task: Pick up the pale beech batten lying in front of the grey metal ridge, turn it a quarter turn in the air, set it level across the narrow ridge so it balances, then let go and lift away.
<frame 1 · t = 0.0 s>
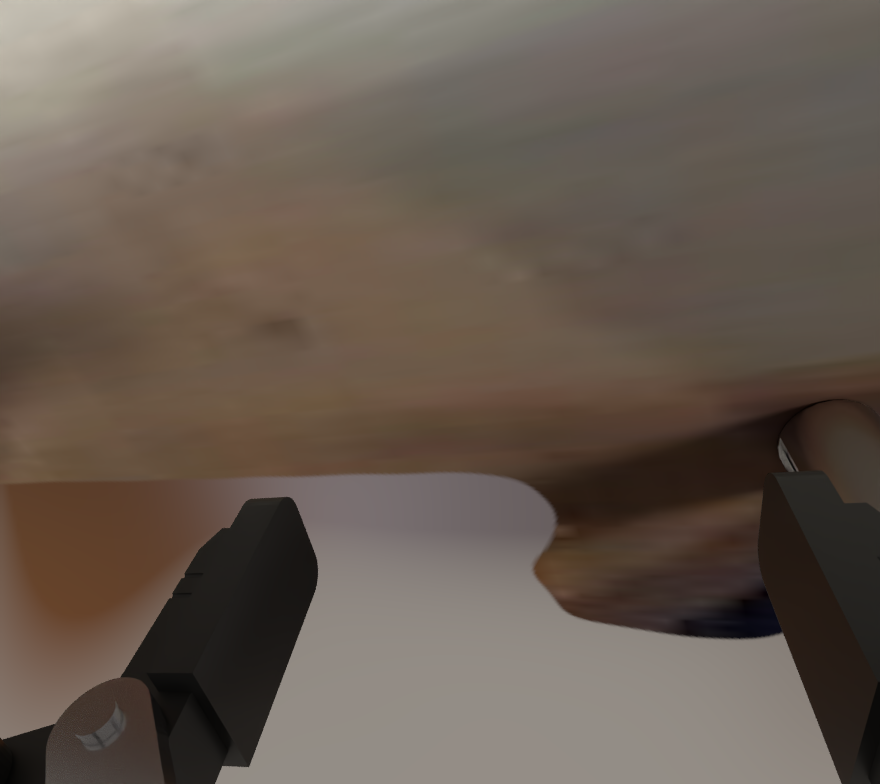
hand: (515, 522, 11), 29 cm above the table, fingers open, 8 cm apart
air filter: (827, 437, 43), on the table
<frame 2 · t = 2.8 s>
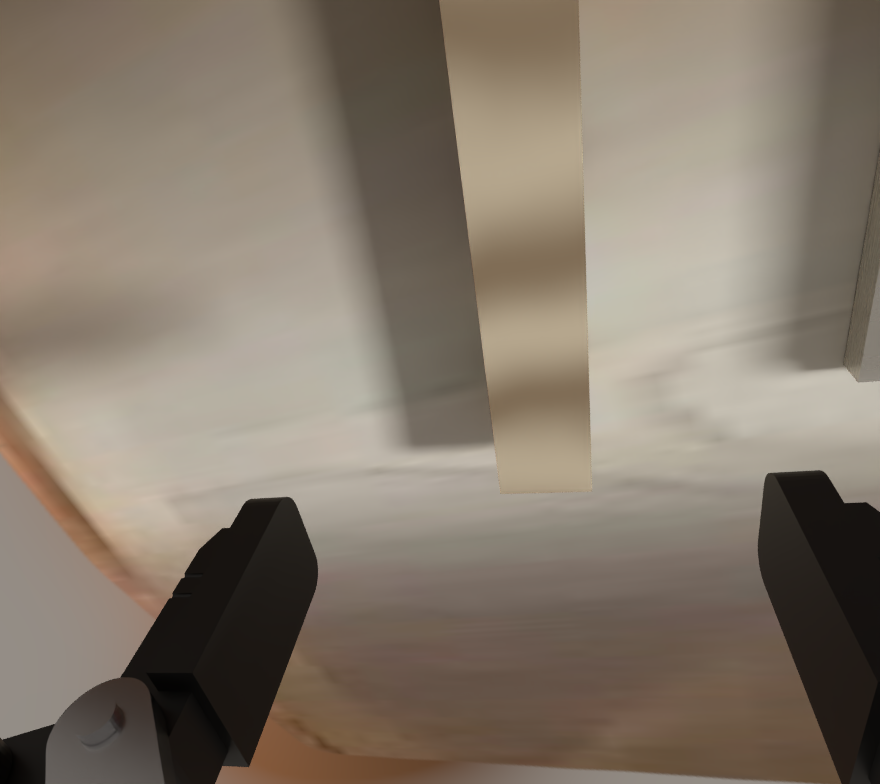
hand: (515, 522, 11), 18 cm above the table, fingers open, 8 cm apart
beech batten: (528, 213, 26), on the table
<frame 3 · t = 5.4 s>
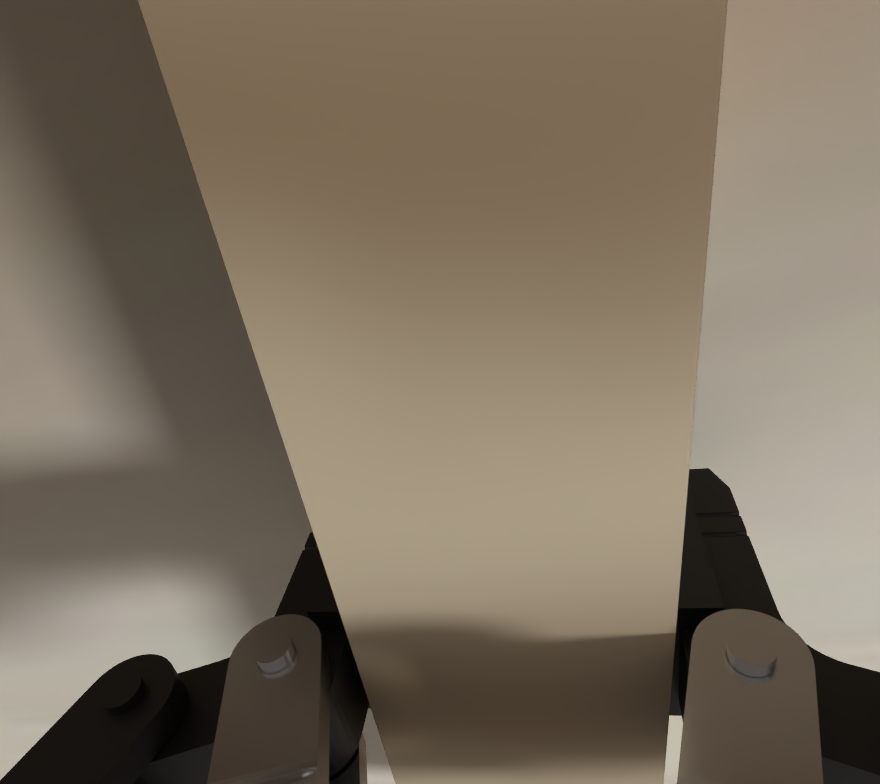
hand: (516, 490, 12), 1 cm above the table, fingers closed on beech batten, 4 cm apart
beech batten: (519, 458, 12), on the table, touching gripper
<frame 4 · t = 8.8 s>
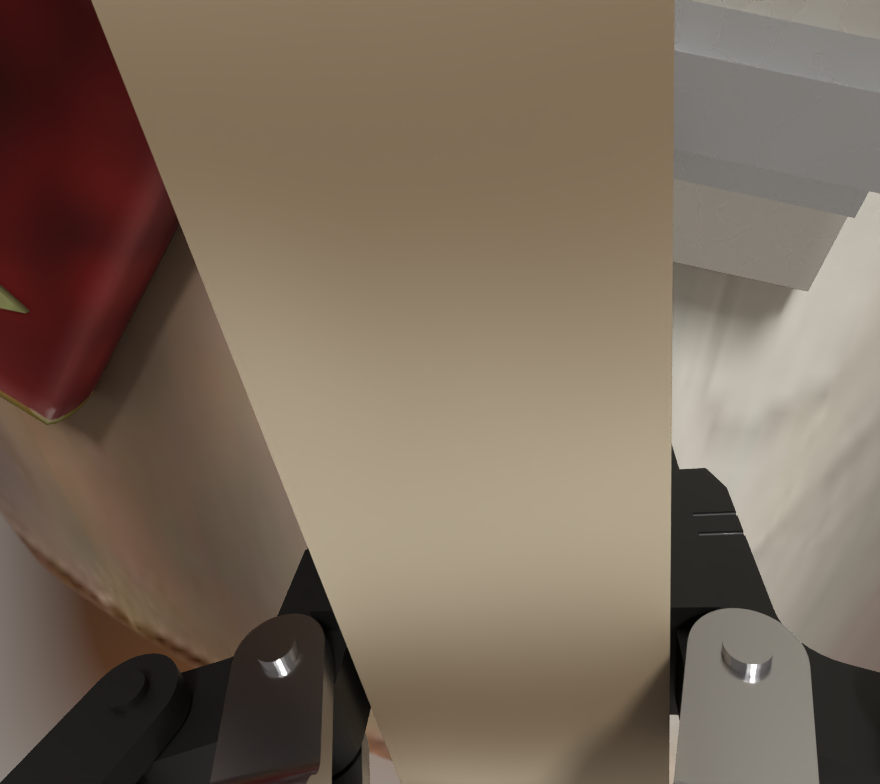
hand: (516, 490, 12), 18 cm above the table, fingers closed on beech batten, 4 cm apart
hardcover book: (61, 172, 30), on the table
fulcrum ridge: (593, 69, 24), on the table
beech batten: (518, 458, 12), point 17 cm above the table, touching gripper
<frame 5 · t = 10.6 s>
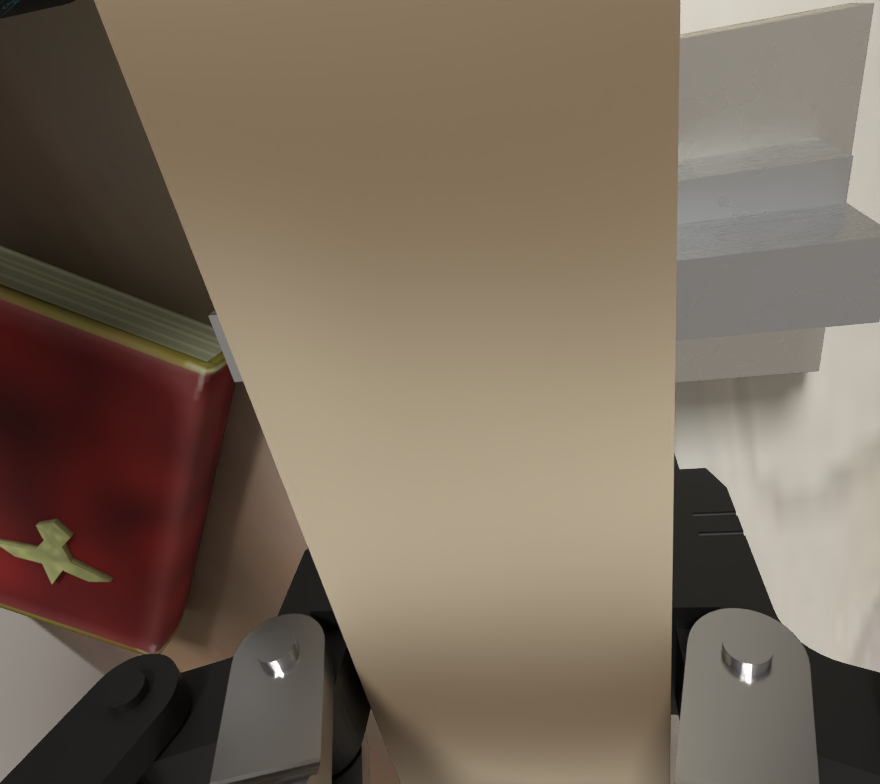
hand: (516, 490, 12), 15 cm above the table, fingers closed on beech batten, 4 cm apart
hardcover book: (111, 448, 34), on the table
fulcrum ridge: (523, 240, 24), on the table
beech batten: (519, 458, 12), point 14 cm above the table, touching gripper
when the fingers open (8 cm above the table, at t = 12.3 s): beech batten stays where it is, resting on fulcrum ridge.
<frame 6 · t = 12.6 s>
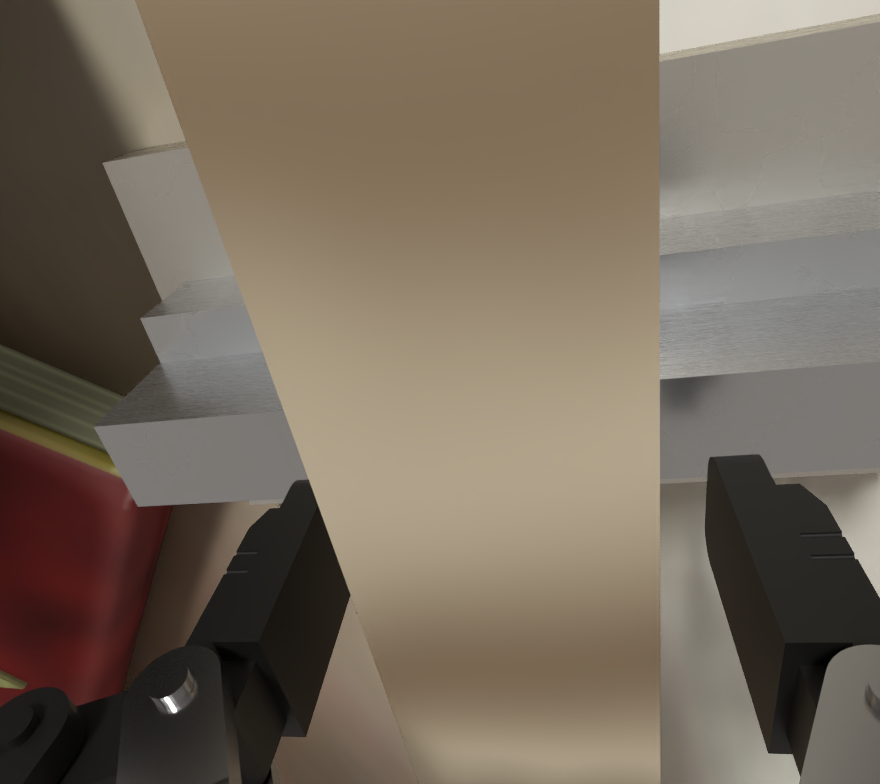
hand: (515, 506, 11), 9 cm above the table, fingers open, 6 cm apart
hardcover book: (34, 527, 28), on the table
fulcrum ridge: (524, 303, 19), on the table
beech batten: (518, 438, 13), point 7 cm above the table, touching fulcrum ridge
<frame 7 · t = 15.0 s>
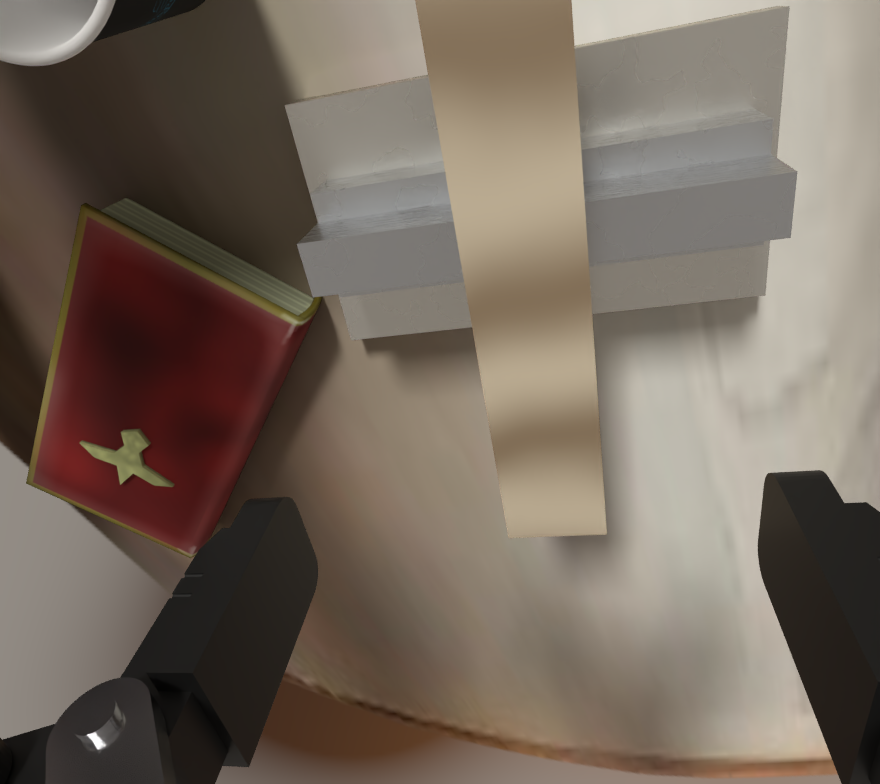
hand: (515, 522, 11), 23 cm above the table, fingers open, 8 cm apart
hardcover book: (182, 378, 40), on the table
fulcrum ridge: (531, 194, 31), on the table
beech batten: (529, 239, 25), point 7 cm above the table, touching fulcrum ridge
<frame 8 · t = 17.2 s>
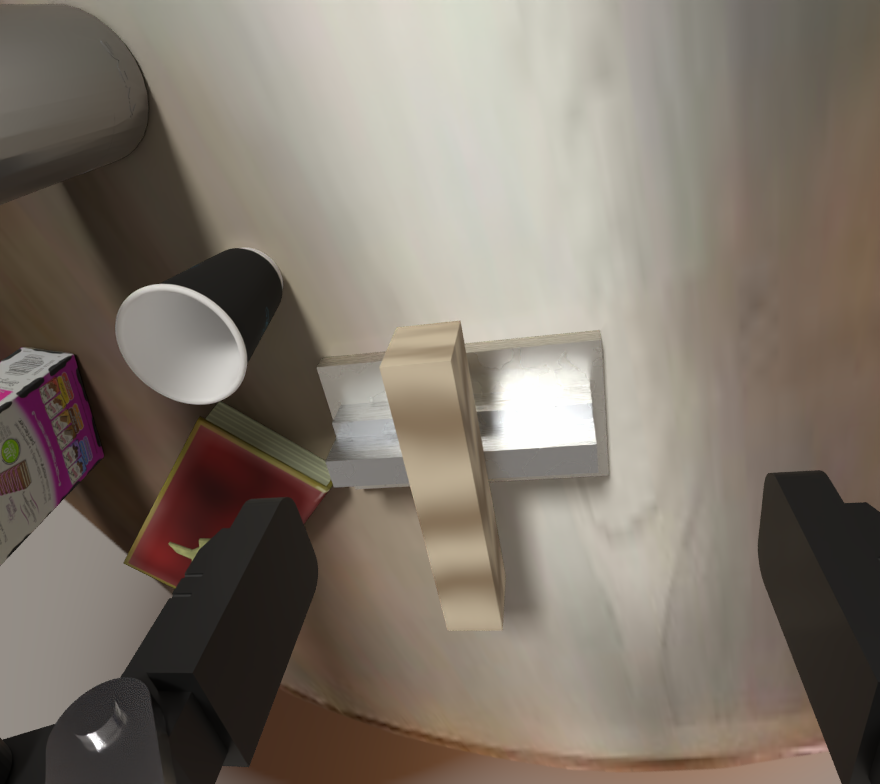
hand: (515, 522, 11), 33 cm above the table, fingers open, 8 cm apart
candy bar box: (66, 402, 55), on the table
hardcover book: (238, 499, 59), on the table
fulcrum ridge: (467, 411, 50), on the table
beech batten: (457, 466, 44), point 7 cm above the table, touching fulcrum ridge
dixie cup: (252, 277, 46), on the table
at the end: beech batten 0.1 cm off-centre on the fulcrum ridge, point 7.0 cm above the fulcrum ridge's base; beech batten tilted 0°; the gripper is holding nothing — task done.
